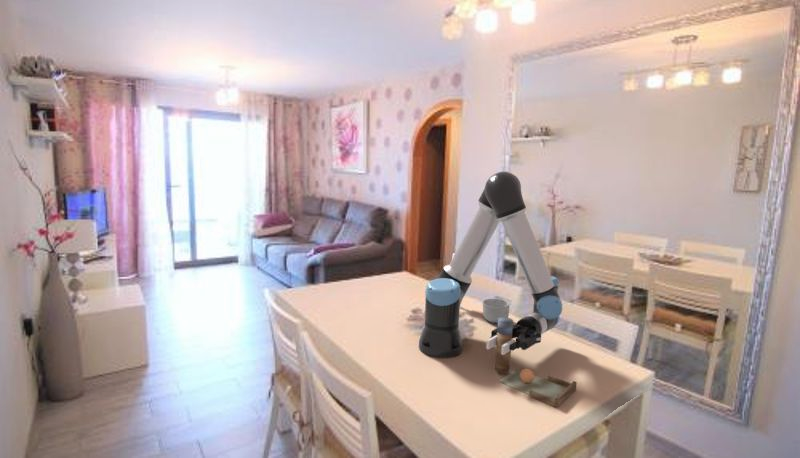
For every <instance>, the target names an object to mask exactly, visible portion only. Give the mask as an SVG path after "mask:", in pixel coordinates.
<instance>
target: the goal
mask: <svg viewBox="0 0 800 458" xmlns="http://www.w3.org/2000/svg"><path fill="white" fill-rule="evenodd" d="M522 370H523V369H519V368H516V369H515V370H513V371H512V372H510V373H508V374H507V375H506V376H504V377H502V378H500V380H498V382H499V383H501V384H503V385H506V386H508V387H511V388H513V389H515V390H517V391H520V392H523V393H524V394H527V395H528V396H529V397H530V398H533V399H535V400H537V401H539V402H541V403H543V404H547V405H549V406H552V407H553V408H556V409H557V408H559V407H560V406H561V405H562V404H563V403H564V402H565V401H566V400H567V399H568V398H569V397H571V395H572V394H573V393H575V391H576V390H577V383H578V382H577V381H576V380H573V381H572V382H568V381H566V380H563V379H560V378H558V377H556V376H553V375H550V374H548V376H547V379H545V378H542V377H540V376H537V375H534V379H533V381H532V382H530V383H525V382H523V381H522V380H521V378H520V372H521V371H522Z"/></svg>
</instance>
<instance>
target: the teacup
mask: <svg viewBox="0 0 800 458" xmlns="http://www.w3.org/2000/svg"><path fill="white" fill-rule="evenodd" d="M509 314H510V302H509V301H508V300H506V299H503V298H494V297H490V298H488V299H487V298H486V299H484V300H482V315H483V317H484V319H485V320H487V322H489V323H493V324H498V318H500V317H507V318H509V316H510V315H509Z"/></svg>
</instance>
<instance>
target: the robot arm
mask: <svg viewBox="0 0 800 458" xmlns="http://www.w3.org/2000/svg"><path fill="white" fill-rule="evenodd" d="M477 203H478V205H479V207H478V210H477V212H476V213H475V215H474V217H473V219H472V222H471V223H470V225H469V227H468V229H467V230H466V232H465V235H464V236H463V238H462V240H461V242H460V244H459V245H458V248H457V250H456V251H455V252H454V253H455V255H454V257H453V259H452V258H451V261H450V263H449V264H446V265H443V268H442V270H441V271H440V273H439V275H438V277H437V278H435V279H432V280H430V281H429V282H428V283H427V284H426V288H425V292H424V293H425V307H424V309H425V310H424V327H423V329H422V332H421V335H420V337H419V338H418V349H419V350H420V351H421V352H422V353H423V354H425V355H427V356H430V357H434V358H453V357H457V356H458V355H460V354H462V352H463V346H464V344H463V339H462V336H461V332H460V328H459V325H460V324H459V322H460V309H461V308H460V305H462V301H463V299H464V297H465V296H466V294H467V292H468V291H469V288H470V286H471V284H472V282H473V279H472V274H473V272H474V269H476V267H477V264H478V262H479V260H480V259H481V258H482V255H483V253H484V251H485V249H486V248H487V246H488V244H489V242H490V241H491V239H492V237H493V234H494V233H495V231H496V230H497V228H498V226H499V224H500V222H501V223H502V225H503V227H504V230H505V233H506V234H507V237H508V240H509V242H510V245H511V247H512V249H513V252H514V254H515V257H516V259H517V261H518V264H519V266H520V269H521V271H522V273H523V276H524V278H525V282H526V284H527V286H528V288H529V291H530V293H531V296H532V298H533V310H532V313H530V314H527V315H526V316H524V317H522V318H520V319H519V320H518V321H517V322H516V323H515V324H513V330H512V340H511V341H509V342H507V343H505V344H504V345H502V349H501V354H502V355H504V354H506V353H508V352H509V351H511V352H513V351H515V350H518V349H521V350H522V351H526V350H527V349H529V348H531V347H532V346H535V345H536V344H538V343H541V341H542V335H543V334H544V333H547V332H548V331H550V330H553V329H554V328H555V327H556V325H558V324H559V322H560V316H561V314H562V312H563V303H562V300H561V299H560V295H559V292H558V291H559V278H557V277H556V276H553V275H551V274H550V272H549V268H548V266H547V263H546V261H545V259H544V257H543V253H542V252H541V249H540V247H539V244H538V242H537V240H536V237H535V235H534V233H533V230H532V227H531V225H530V223H529V219H528V218H527V215H526V210H527V205H526V204H525V201H524V198H523V193H522V185H521V182H520V179H519V178H518V177H517V176H516V175H515V174H513V173H512V172H509V171H499V172H495V173H493V175H491V176H490V177H489V178H488V179H487V181H486V182H485V186H484V189H483V191H482V193H481V194H480V197H479V198H478V201H477ZM497 329H498V327H496V328H494V329H493V330H491V336H489V338H488V339H486V344H485V345H486V347H485V349H487V350H491V349H492V348H494V347H496V344H497Z"/></svg>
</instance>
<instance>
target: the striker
mask: <svg viewBox="0 0 800 458" xmlns="http://www.w3.org/2000/svg"><path fill="white" fill-rule="evenodd" d="M513 325H514V319H512V318H510V317H508V318H507V317H500V318H498V323H497V328H498V329H497V344H496V346H495V347H496V348H495V363H494V371H496V372H498V373H500V374H501V373H502V374H507V373H509V372H510V371H511V370H510V369H511V368H510V367H511V356H512V354H511V353H512V350H511V351H509V352H508V353H506V354H504V355H502V354H501V349H502V345H504V344H505V343H507V342H509V341H511V340H512V330H513Z"/></svg>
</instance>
